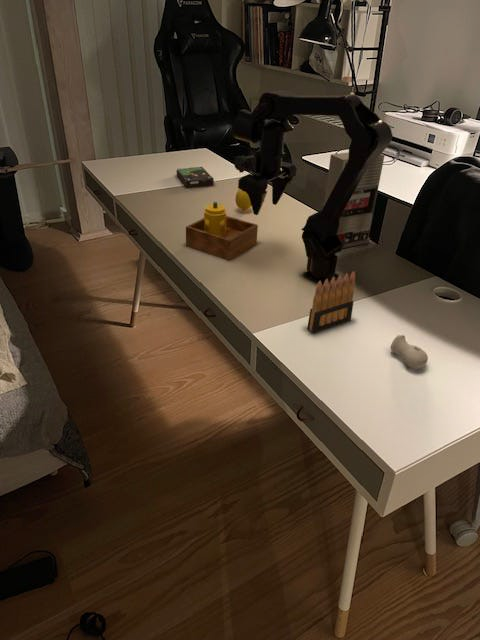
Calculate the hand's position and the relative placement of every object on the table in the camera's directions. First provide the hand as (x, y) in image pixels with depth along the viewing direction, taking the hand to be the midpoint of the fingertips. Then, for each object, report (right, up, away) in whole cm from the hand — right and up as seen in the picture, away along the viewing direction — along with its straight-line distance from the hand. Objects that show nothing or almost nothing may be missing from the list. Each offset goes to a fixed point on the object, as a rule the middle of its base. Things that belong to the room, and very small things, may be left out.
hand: (265, 209), depth 129 cm
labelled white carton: (+23, -7, +15) cm, 28 cm away
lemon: (-5, +7, +33) cm, 34 cm away
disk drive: (-23, +23, +56) cm, 65 cm away
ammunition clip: (+13, -30, -21) cm, 38 cm away
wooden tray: (-12, -7, +11) cm, 18 cm away
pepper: (-13, -4, +11) cm, 18 cm away
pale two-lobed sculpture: (+27, -36, -30) cm, 54 cm away
